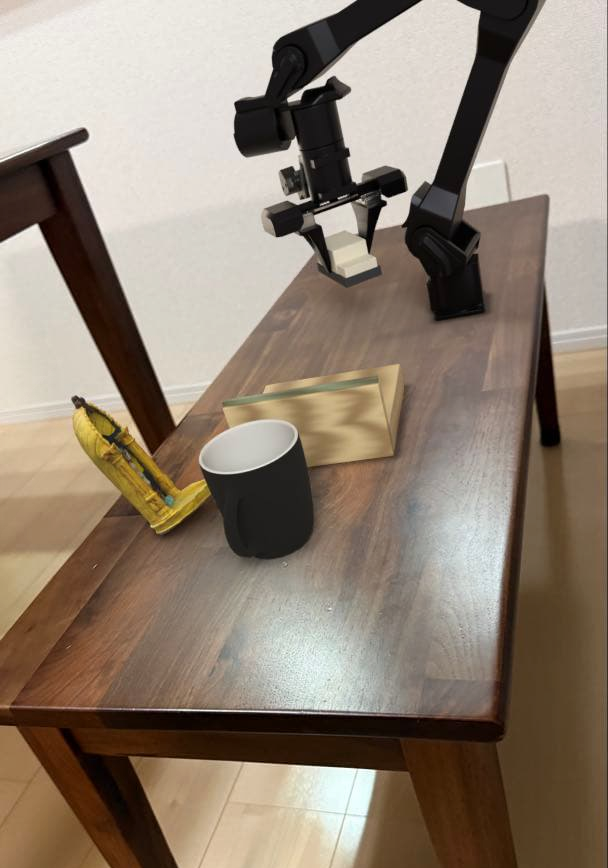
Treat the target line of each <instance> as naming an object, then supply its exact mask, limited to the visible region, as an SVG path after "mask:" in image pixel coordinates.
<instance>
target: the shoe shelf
mask: <svg viewBox="0 0 608 868" xmlns="http://www.w3.org/2000/svg"><path fill="white" fill-rule="evenodd" d="M402 373H403V372H402V368H401V363H396V364H390V365H389V364H388V365H383V366H377V367H371V368H365V369H357V370H353V371H346V372H340V373H334V374H328V375H322V376H315V377H308V378H303V379H296V380H291V381H284V382H278V383H271V384H266V385H265V388H264V390H263V391H262V393H258V394H253V395H246V396H239V397H233V398H227V399H222V401H221V404H222V411H223V414H224V417H225V420H226V422H227V426H228V429H230V428H232V427H235V426H238V425H240V424H244V423H247V422H251V421H256V420H264V419H277V420H283V421H286V422H289V423H291V424H292V425H294V426H295V427H296V429H297V431H298V433H299V436H300V439H301V443H302V447H303V451H304V455H305V459H306V464H307V468H311V467H312V468H313V467H318V466H326V465H327V466H328V465H333V464H341V463H349V462H355V461H356V462H358V461H364V460H373V459H379V458H380V459H381V458H387V457H389V458H390V457H393V456H394V455H395V450H396V443H397V437H398V429H399V424H400V418H401V412H402V407H403V406H402V404H403V398H404V391H405V384H404V378H403V374H402Z"/></svg>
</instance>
